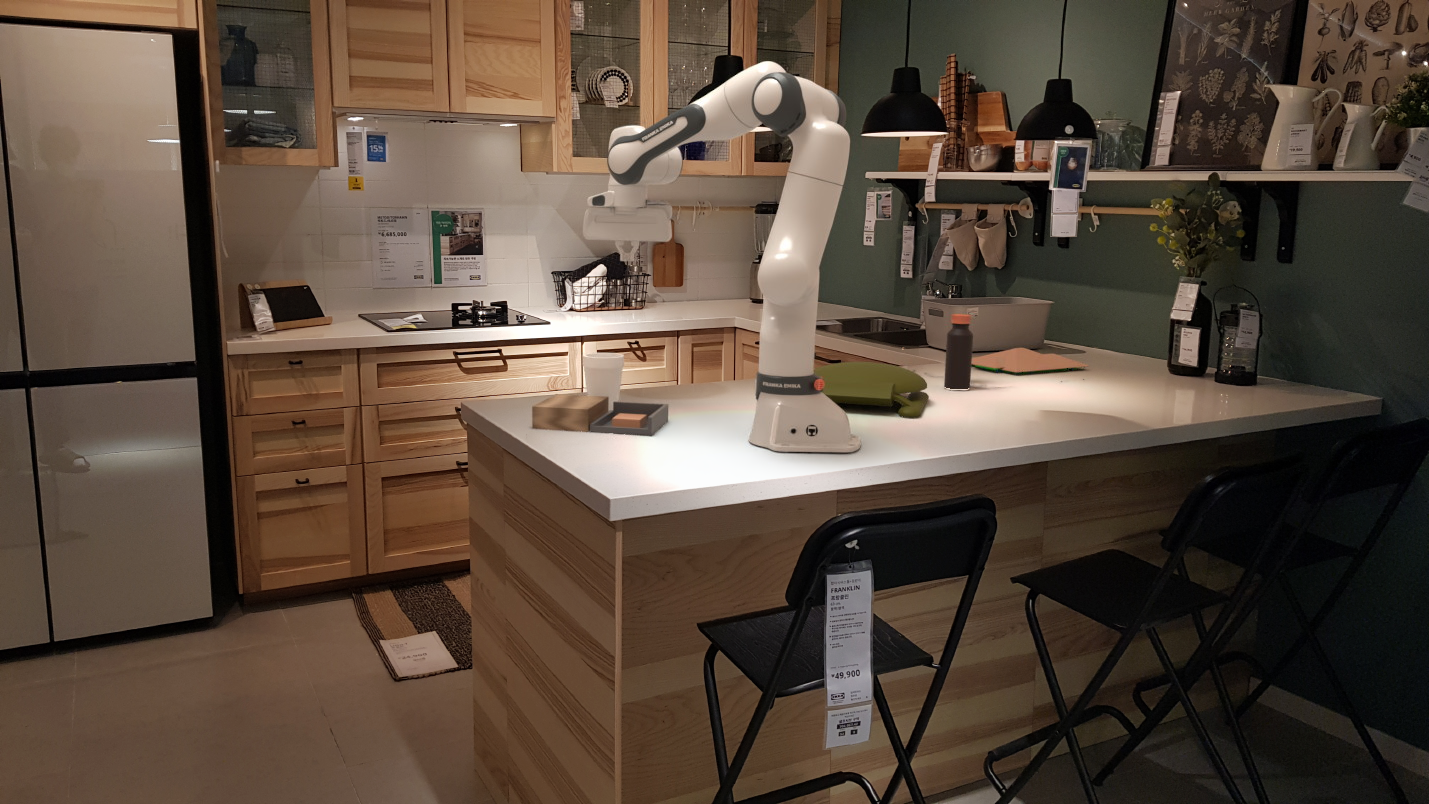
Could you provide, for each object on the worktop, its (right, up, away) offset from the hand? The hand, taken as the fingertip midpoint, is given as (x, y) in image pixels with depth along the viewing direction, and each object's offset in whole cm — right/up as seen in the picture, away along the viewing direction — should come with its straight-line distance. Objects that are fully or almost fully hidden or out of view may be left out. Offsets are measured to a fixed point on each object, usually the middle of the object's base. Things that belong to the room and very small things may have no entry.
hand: (627, 261), depth 246 cm
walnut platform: (-11, -37, -14) cm, 41 cm away
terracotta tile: (+2, -35, -17) cm, 39 cm away
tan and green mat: (+111, -24, +75) cm, 136 cm away
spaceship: (+57, -33, +21) cm, 69 cm away
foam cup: (-6, -35, +1) cm, 35 cm away
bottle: (+85, -29, +43) cm, 99 cm away
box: (+2, -38, -16) cm, 41 cm away
